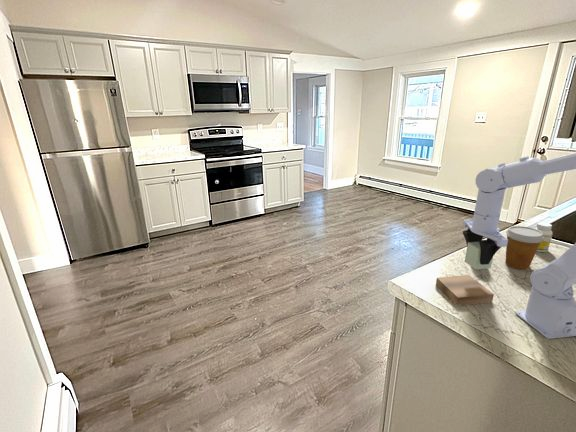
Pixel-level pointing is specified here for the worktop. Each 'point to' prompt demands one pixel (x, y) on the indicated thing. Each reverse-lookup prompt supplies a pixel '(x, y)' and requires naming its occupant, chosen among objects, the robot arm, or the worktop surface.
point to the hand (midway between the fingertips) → (478, 259)
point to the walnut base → (464, 290)
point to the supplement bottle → (547, 235)
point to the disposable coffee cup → (522, 246)
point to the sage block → (475, 256)
